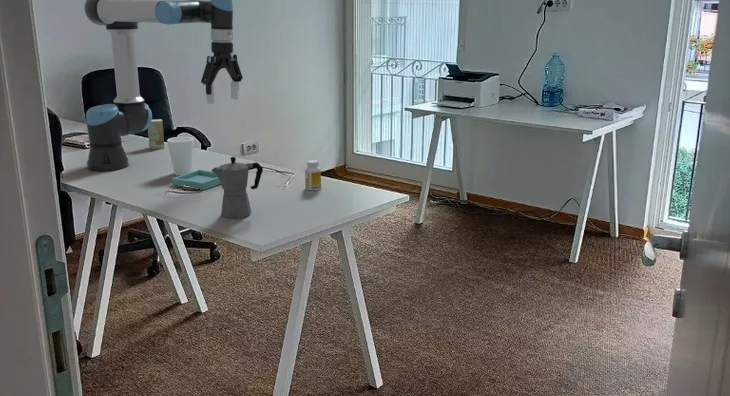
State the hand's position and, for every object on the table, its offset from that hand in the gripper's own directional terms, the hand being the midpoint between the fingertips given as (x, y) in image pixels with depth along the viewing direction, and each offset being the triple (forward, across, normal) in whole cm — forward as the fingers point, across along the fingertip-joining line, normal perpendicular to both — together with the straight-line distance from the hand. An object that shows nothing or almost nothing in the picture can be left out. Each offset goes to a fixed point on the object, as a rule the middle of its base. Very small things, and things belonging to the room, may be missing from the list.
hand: (222, 101), depth 247 cm
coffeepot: (+27, -35, -34) cm, 56 cm away
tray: (+28, -13, -1) cm, 31 cm away
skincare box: (+29, +22, +54) cm, 65 cm away
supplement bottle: (+26, -1, -40) cm, 48 cm away
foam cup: (+28, -6, +14) cm, 32 cm away
